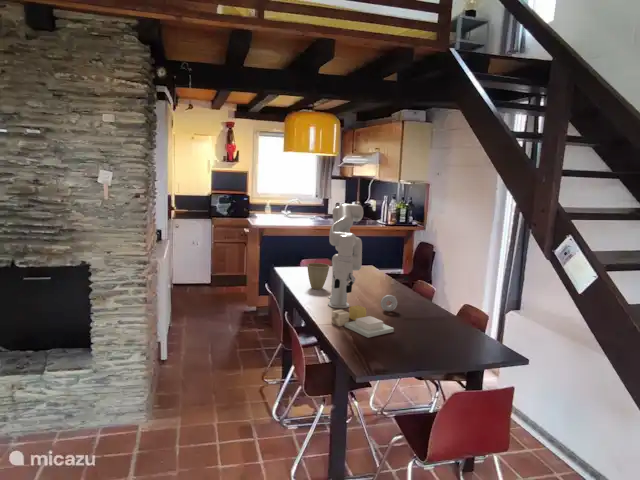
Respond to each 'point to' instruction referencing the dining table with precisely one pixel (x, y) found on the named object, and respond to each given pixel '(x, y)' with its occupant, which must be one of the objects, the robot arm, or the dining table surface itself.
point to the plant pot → (317, 274)
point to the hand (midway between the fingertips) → (342, 290)
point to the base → (369, 332)
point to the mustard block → (357, 312)
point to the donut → (384, 301)
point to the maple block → (340, 317)
